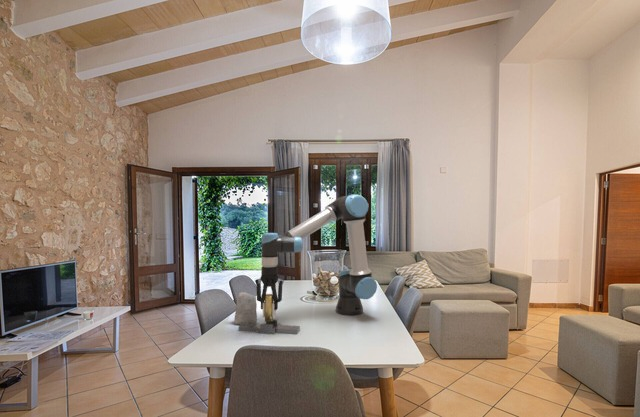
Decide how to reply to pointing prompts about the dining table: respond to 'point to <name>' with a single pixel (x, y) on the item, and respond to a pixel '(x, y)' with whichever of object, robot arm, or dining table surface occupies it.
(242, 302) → the decorative stone
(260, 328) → the link plates
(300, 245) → the robot arm
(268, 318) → the link pin
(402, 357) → the dining table surface
